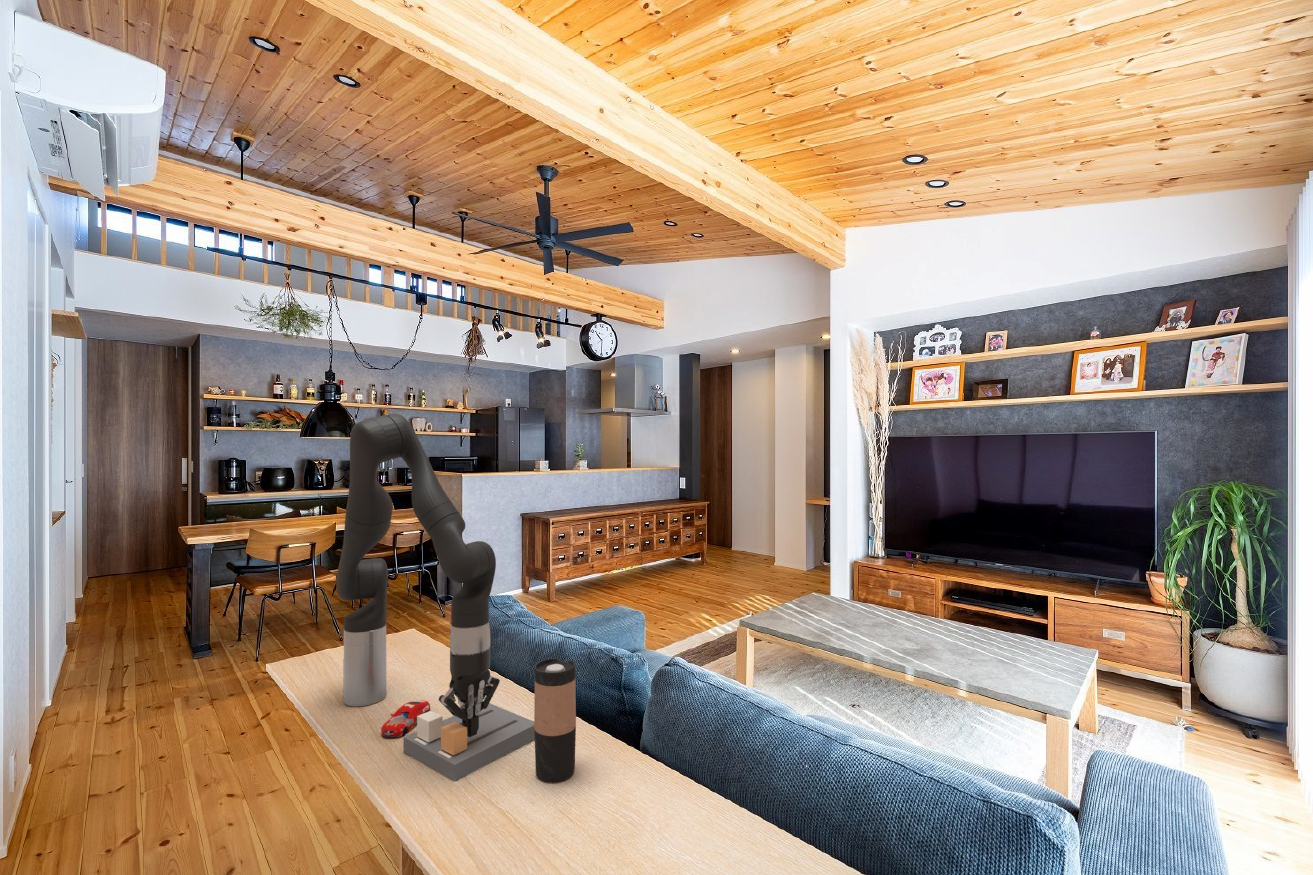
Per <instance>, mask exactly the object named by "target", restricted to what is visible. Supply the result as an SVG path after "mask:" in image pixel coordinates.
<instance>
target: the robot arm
mask: <svg viewBox="0 0 1313 875" xmlns="http://www.w3.org/2000/svg"><path fill="white" fill-rule="evenodd" d="M349 437H350V438H349V486H348V496H347V504H346V509H345V519H344V527H343V528H344V531H343V532H344V533H343V543H342V549H341V554H340V558H339V559H340V560H339V565H338V568H337V574H336V580H335V581H336V582H335V583H336V584H335V585H336V586H335V587H336V592H337V595H338V597H339V598H340V599H341V600H342V601H358V600H365V599H370V600H369V601H368V602H367V603H366V604H365V605H363V606H362V607H360V608H359V609H357V610H355V611H353V612H351V613H349V614H347V615H346V616H345V617H344V619H343V659H342V660H343V662H342V663H343V672H342V673H343V676H342V678H343V680H342V682H343V684H342V687H343V691H342V692H343V697H342V698H343V703H344V705H346V706H347V707H348V706H349V707H364V706H368V705H369V706H370V705H373V704H377V703H378V702H381V701H383V700H384V699H385V698H386V696H387V680H388V678H387V675H388V673H387V602H388V601H387V600H388V584H389V582H388V581H389V571H388V565H387V563H386V560H385V559H384V558H382V557H377V558H366V559H363V558H364V556H366V555H367V553H368V552H370V551H371V550H373V548H375V546H377V545H378V544H379V543H380V542H381V541H382V540H383V538H384V537H385V536H386V535H387V533H388V532H389V529H390V527H391V523H392V516H393V510H394V505H393V503H394V502H393V500H392V498H391V496H390V494H389V493H388V492H387V490H386V489H385V488H384V487H383V485H381V484H380V482H379V481H378V480H377V471H378V467H379V466H380V465H381V464H382V463H386V462H389V461H393V460H396V459H399V458H401V459H402V460H403V461H404V462H405V464H406V465H407V467H408V469H409V472H410V477H411V505H412V509H413V513H414V514H415V516H416V519H417V520H418V521H419V523H420V524H421V526H422V528H423V529H424V530H425V532H426V533H427V535H428V536H429V537H430V539H431V541H432V545H433V548H434V551H435V554H436V557H437V560H438V562H439V565H440V567H441V570H442V571H443V573H444V575H445V576H446V577H447V578H449V579H450V580H451V581H452V582H454V583H457V584H462V585H461V588H460V590H459V591H458V592H456V593H455V595H453V597H452V599H451V606H450V607H451V608H450V609H451V610H450V613H451V614H450V622H451V625H450V627H451V628H450V634H449V672H450V674H451V676H450V677H451V678H450V682H449V683H448V686H449V689H448V690H447V691H446V693H445V694H441V695H440V696H439V697H438V701H439V703H441V705H443V706H444V708H446V710H447V711H448V712H449V713H450V714H451V715H452V716H456V717H458V718H460V719H462V725H463V726H465V727H467V736H468V737H472V736H474V735H476V734H477V731H478V729H479V714H480V711H481V710H483V709H486V708H487V707H488V705H489V703H490V702H491V700H492V699H493V697H494V694H495V693H496V691H497V688H498V687H499V684H500V681H501V680H500V679H499V678H498V677H494V676H492V675H491V671H490V668H491V628H490V622H489V621H490V618H489V617H490V615H489V614H490V613H489V612H490V610H489V609H490V605H489V600H490V595H491V594H492V588H493V585H494V580H495V574H496V568H497V567H496V565H497V561H496V560H497V559H496V555H495V551H494V549H493V547H492V546H491V545H490V544H489V543H487V542H486V541H484V540H483V541H482V540H477V541H472V542H469V543H465V541H464V539H463V536H462V533H463V532H464V530H466V521H465V520H464V518H463V517H462V515H461V514H460V512H459V510H458V509H457V507H456V506H455V504H453V502H452V501H451V499H450V497H449V496H448V495H447V493H446V492H445V489H443V486H442V485H441V483H440V481H439V480H438V477H437V475H436V473H435V471H434V469H433V467H432V464H431V462H430V460H429V458H428V456H427V454H426V452H425V449H424V448H423V446H422V443H421V442H420V440H419V437H418V435H417V432H416V431H415V430H414V428H413V425H412V424H411V423H410V422H409V420H407V418H406V417H405V416H403V415H402V414H399V413H389V414H384V415H380V416H376V417H370V418H368V419H364V420H361V421H359V422H357V423H355V424H354V425H353V427H352V429H351V433H350V436H349ZM456 698H457V699H456ZM456 700H457V702H458V703H456Z"/></svg>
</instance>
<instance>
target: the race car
mask: <svg viewBox="0 0 1313 875" xmlns="http://www.w3.org/2000/svg"><path fill="white" fill-rule="evenodd" d="M429 711H431V703H430V702H429V701H428V700H424V699H423V700H420V699H419V700H418V699H417V700H413V701H408V702H406V703H404V704H402V706H400V707H399V708H398V709H396V711H395V712H394V713H391V714H390V716H391V717H390V718H389V719H388V720H387V721H386V722H385V723H384V724H383V725H382V726H381V729H380V734H381V736H382V737H384V738H389V739H391V738H400V737H405V736H407V734H408V733H409V732H410V731H412V730H413V729H414V728H415V727H416V726H417V716H419V715H421V714H424V713H426V712H429Z"/></svg>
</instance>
